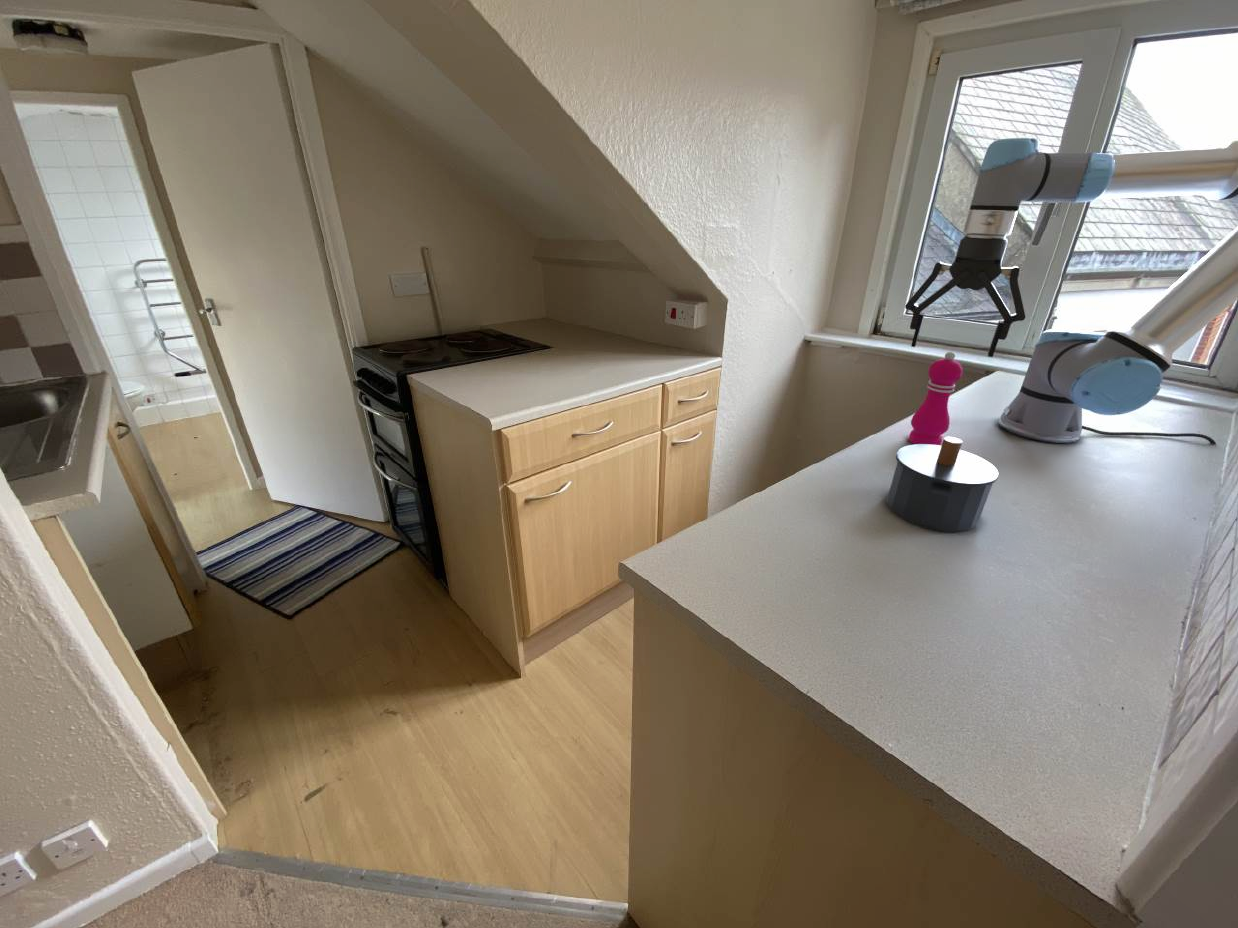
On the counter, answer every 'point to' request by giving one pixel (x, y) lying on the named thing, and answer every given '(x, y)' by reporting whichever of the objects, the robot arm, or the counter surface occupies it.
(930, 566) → the counter surface
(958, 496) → the pot
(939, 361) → the pepper mill
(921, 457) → the pot lid
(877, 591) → the counter surface
